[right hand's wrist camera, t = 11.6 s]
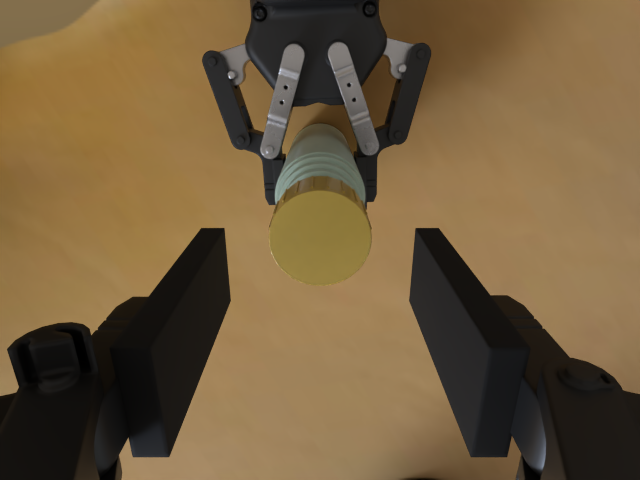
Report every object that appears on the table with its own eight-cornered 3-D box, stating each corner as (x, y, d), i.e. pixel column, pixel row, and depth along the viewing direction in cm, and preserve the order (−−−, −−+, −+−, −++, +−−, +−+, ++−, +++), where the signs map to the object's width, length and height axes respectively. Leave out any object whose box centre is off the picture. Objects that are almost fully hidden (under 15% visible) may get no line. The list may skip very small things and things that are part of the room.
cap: (379, 191, 18) (388, 208, 16) (348, 272, 20) (352, 298, 17) (288, 162, 18) (284, 175, 16) (263, 247, 19) (255, 270, 17)
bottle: (357, 134, 34) (397, 199, 16) (338, 189, 36) (356, 302, 18) (300, 115, 34) (279, 161, 16) (283, 171, 35) (247, 271, 17)
